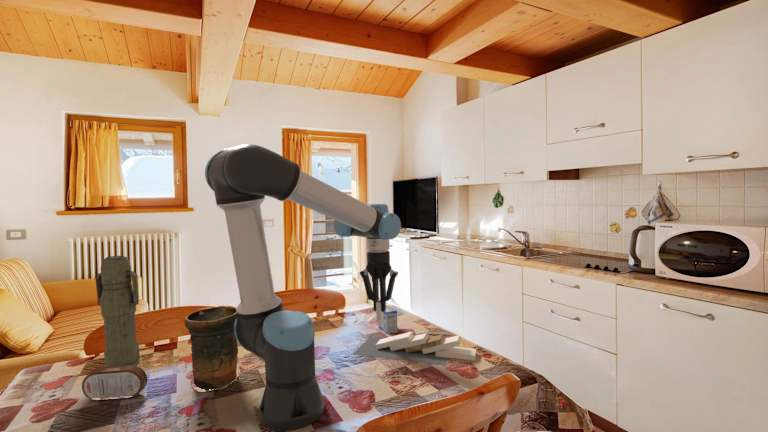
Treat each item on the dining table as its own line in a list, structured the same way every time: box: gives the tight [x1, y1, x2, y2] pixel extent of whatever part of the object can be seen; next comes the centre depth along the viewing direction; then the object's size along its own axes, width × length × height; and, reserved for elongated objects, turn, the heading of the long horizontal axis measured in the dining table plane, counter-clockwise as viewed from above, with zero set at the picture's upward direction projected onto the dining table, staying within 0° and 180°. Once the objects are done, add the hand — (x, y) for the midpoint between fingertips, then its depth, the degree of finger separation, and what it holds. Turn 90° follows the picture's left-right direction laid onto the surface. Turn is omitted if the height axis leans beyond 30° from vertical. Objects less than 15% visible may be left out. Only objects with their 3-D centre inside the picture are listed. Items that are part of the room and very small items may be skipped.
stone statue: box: [95, 255, 141, 367], centre depth 121 cm, size 9×12×35 cm
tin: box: [81, 365, 148, 400], centre depth 104 cm, size 15×3×8 cm, turn 98°
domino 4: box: [436, 346, 477, 361], centre depth 125 cm, size 2×5×12 cm
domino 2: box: [390, 332, 429, 351], centre depth 129 cm, size 2×5×12 cm
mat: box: [352, 336, 449, 366], centre depth 130 cm, size 16×30×1 cm, turn 71°
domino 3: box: [422, 334, 462, 354], centre depth 126 cm, size 2×5×12 cm
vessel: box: [183, 305, 240, 391], centre depth 113 cm, size 14×14×20 cm
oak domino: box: [405, 333, 445, 353], centre depth 128 cm, size 2×5×12 cm
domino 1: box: [375, 331, 415, 349], centre depth 131 cm, size 2×5×12 cm
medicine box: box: [377, 305, 398, 335], centre depth 149 cm, size 8×4×9 cm, turn 25°
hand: (380, 320), depth 132 cm, fingers closed
